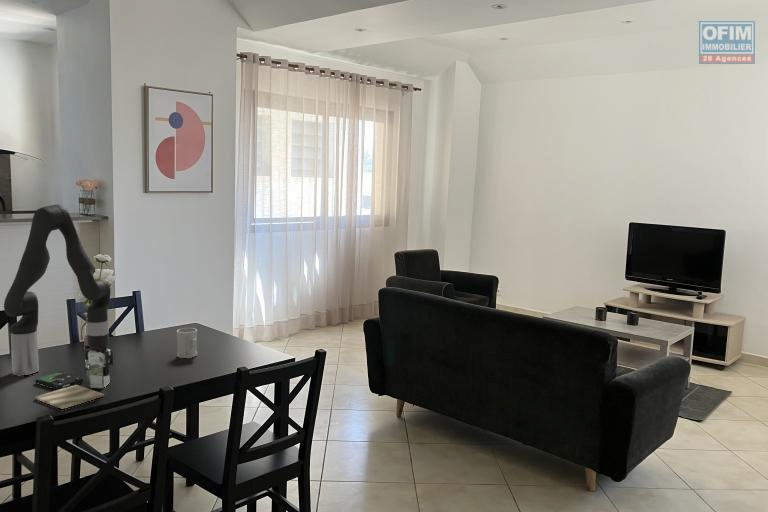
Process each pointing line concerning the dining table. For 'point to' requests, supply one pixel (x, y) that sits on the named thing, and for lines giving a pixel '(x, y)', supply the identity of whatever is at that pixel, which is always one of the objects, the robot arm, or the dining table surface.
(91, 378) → the syrup box
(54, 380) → the disk drive
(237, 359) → the dining table surface
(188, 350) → the cup
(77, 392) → the birch board
